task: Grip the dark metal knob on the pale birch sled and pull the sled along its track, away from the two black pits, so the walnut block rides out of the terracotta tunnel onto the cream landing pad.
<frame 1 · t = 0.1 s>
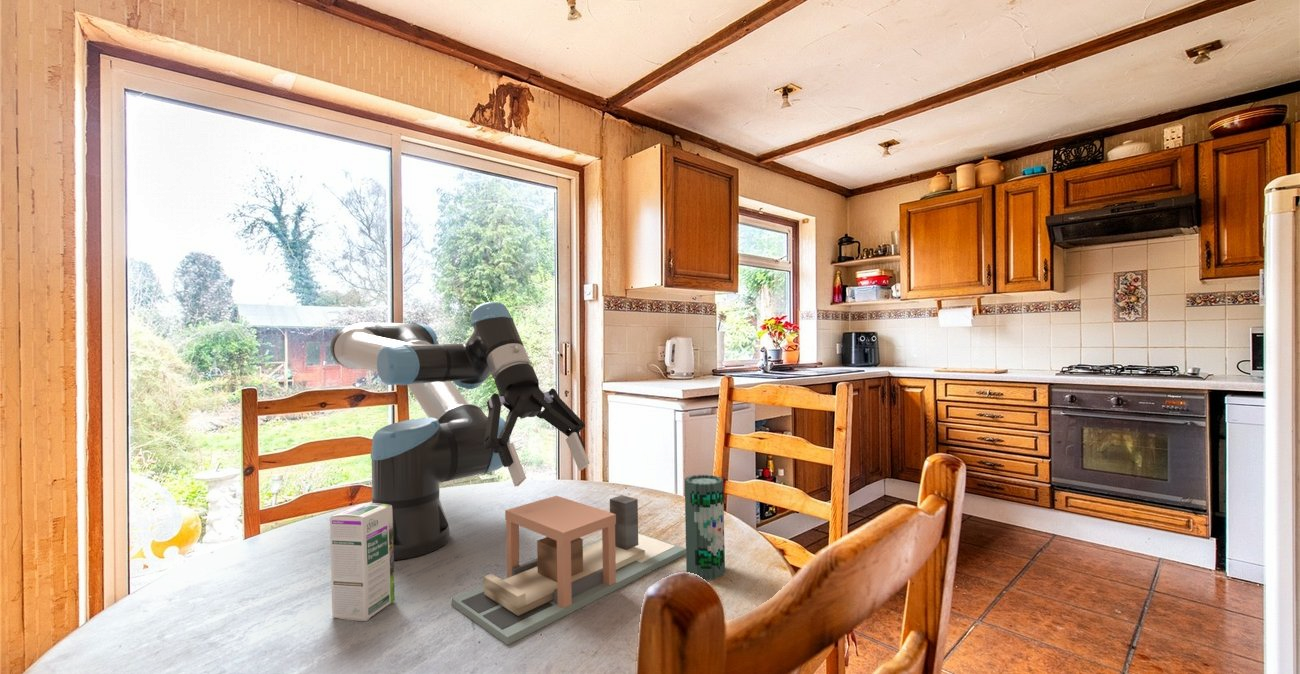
hand: (554, 474, 87), 15 cm above the table, tool tilted 35°, fingers open, 13 cm apart
track: (580, 577, 82), on the table
can: (705, 571, 83), on the table
sled: (572, 544, 81), point 6 cm above the table, slide at 0.0 cm, touching block
block: (560, 571, 79), point 2 cm above the table, touching sled
syrup box: (363, 611, 73), on the table
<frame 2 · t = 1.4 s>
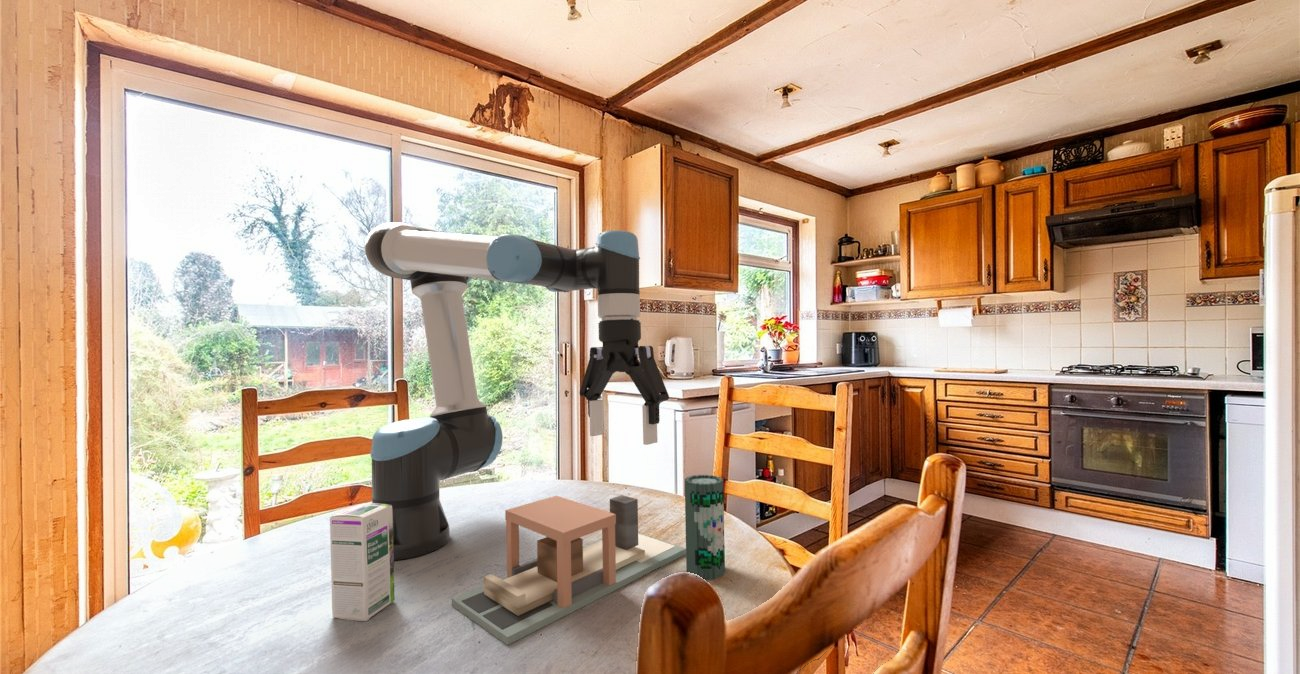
hand: (622, 439, 89), 21 cm above the table, tool pointing down, fingers open, 13 cm apart
nothing on the table moved.
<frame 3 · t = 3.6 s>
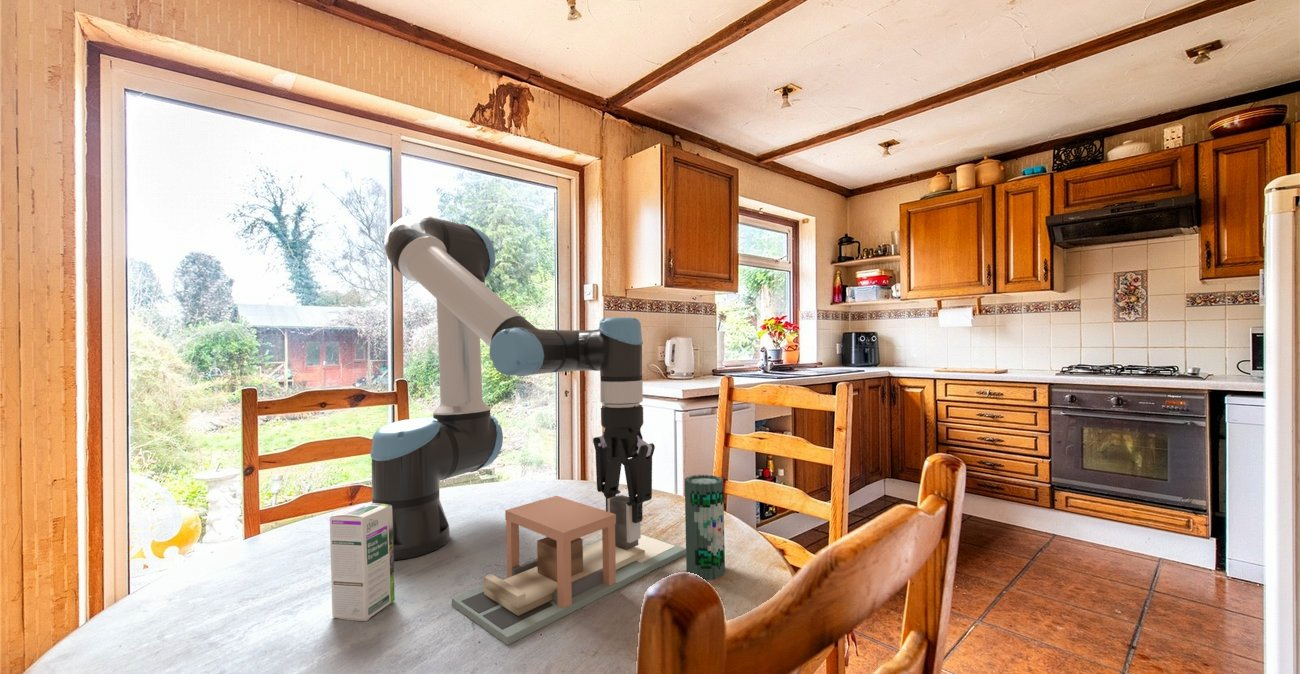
hand: (624, 536, 89), 4 cm above the table, tool pointing down, fingers closed on sled, 4 cm apart
sled: (572, 544, 81), point 6 cm above the table, slide at 0.0 cm, touching block, gripper
everything else where it was.
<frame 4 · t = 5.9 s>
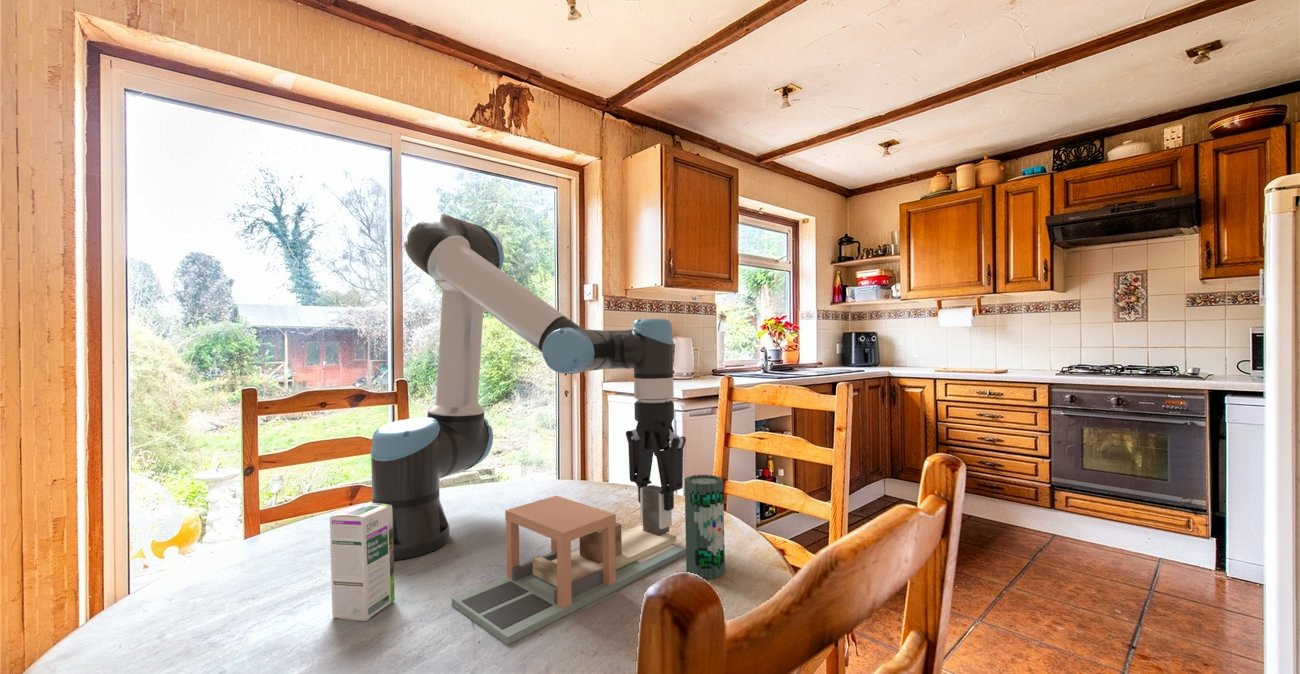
hand: (656, 523, 95), 4 cm above the table, tool pointing down, fingers closed on sled, 4 cm apart
sled: (611, 529, 87), point 6 cm above the table, slide at 8.4 cm, touching block, gripper
block: (600, 554, 85), point 2 cm above the table, touching sled
everything else where it was.
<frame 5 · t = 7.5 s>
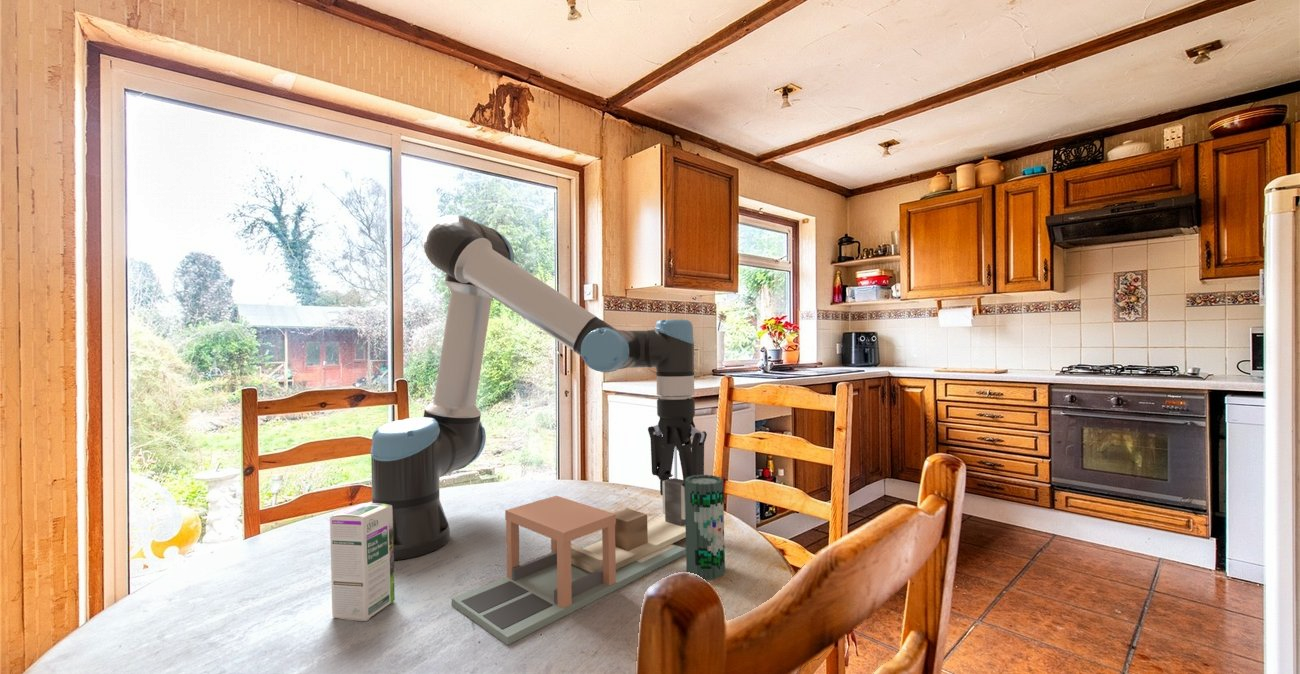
hand: (677, 514, 100), 4 cm above the table, tool pointing down, fingers closed on sled, 4 cm apart
sled: (637, 519, 92), point 6 cm above the table, slide at 14.9 cm, touching block, gripper
block: (627, 543, 90), point 2 cm above the table, touching sled
everything else where it was.
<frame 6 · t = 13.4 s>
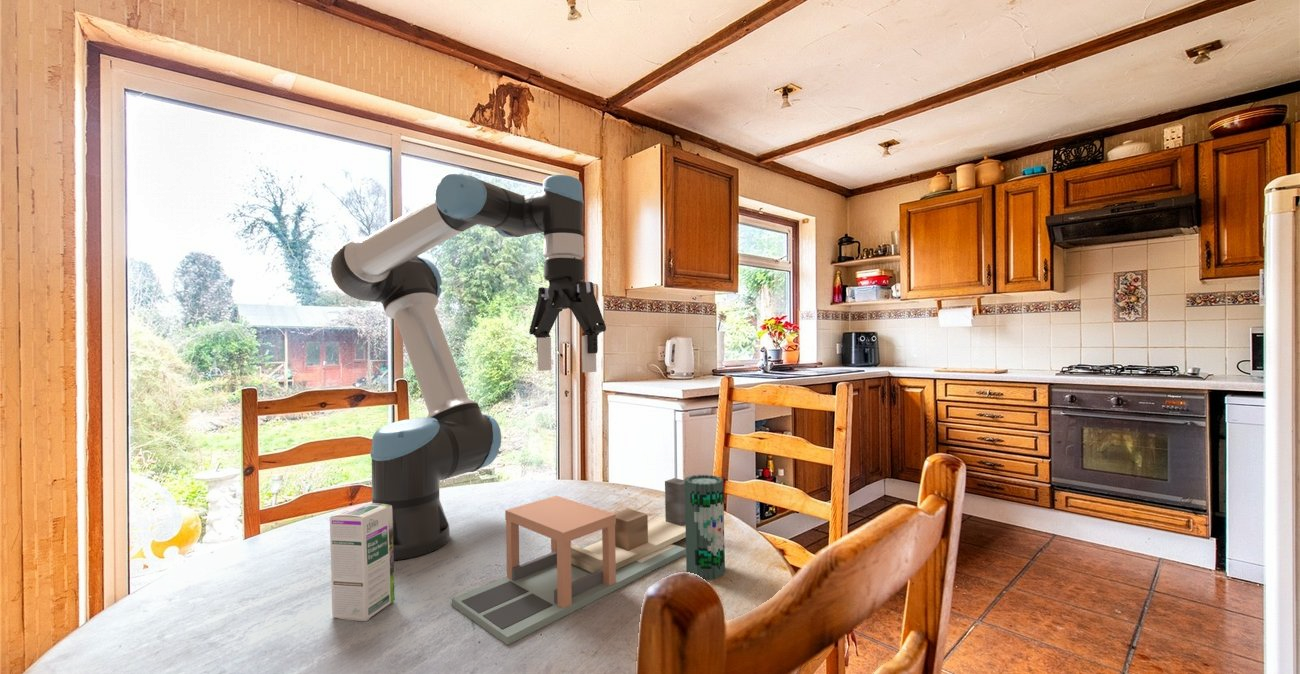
hand: (565, 371, 95), 33 cm above the table, tool pointing down, fingers open, 13 cm apart
sled: (637, 519, 92), point 6 cm above the table, slide at 15.0 cm, touching block
everything else where it was.
at the end: sled slide at 15.0 cm; block inside the target area (1.0 cm from its centre), point 2.2 cm above the table; block tilted 0° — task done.
